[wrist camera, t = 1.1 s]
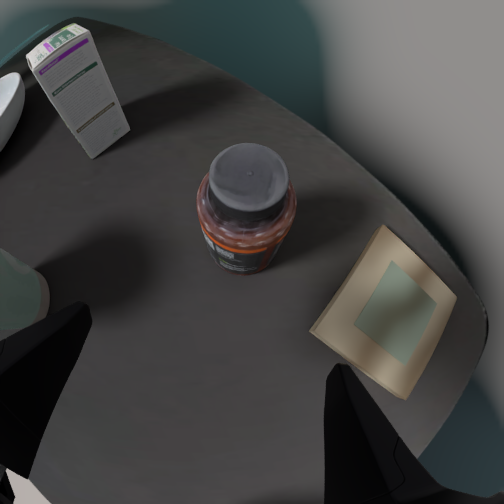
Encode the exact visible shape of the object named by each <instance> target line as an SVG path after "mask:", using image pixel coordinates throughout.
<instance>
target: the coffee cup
mask: <svg viewBox="0 0 504 504" xmlns="http://www.w3.org/2000/svg"><path fill="white" fill-rule="evenodd" d="M49 304H50V293H49V287H48V284H47V282H46V280H45V278H44V277H43V276H42V275H41V274H40V273H39V272H37V271H36V270H34V269H32V268H31V267H29V266H28V265H26V264H24V263H23V262H21V261H20V260H18V259H16V258H15V257H13V256H12V255H10V254H9V253H7V252H6V251H4V250H3V249H1V248H0V330H6V329H16V328H26V327H28V326H30V325H32V324H34V323H36V322H38V321H40V320H42V319H44V318H45V317H46V315H47V312H48V309H49Z"/></svg>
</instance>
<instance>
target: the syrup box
mask: <svg viewBox="0 0 504 504" xmlns="http://www.w3.org/2000/svg"><path fill="white" fill-rule="evenodd" d="M26 56H27V57H26V58H27V60H28V64H29V67H30V68H31V70H32V72H33V74H34V75H35V77H36V79H37V80H38V82H39V84H40V85H41V87H42V88H43V90H44V92H45V93H46V95H47V96H48V98H49V99H50V101H51V103H52V104H53V106H54V107H55V109H56V110H57V112H58V113H59V115H60V116H61V118H62V119H63V121H64V122H65V123H66V125H67V126H68V128H69V129H70V130H71V132H72V133H73V135H74V136H75V137H76V139H77V140H78V142H79V143H80V144H81V146H82V147H83V149H84V150H85V151H86V153H87V154H88V155H89V156H90V158H91V159H93V158H95V157H96V156H97V155H99V154H100V153H101V152H103V151H104V150H105V149H107V148H108V147H109V146H110V145H112V144H113V143H114V142H115V141H117V140H118V139H119V138H121V137H122V136H123V135H125V134H126V133H127V132H128V131H130V127H129V125H128V123H127V120H126V118H125V115H124V113H123V111H122V108H121V106H120V104H119V102H118V99H117V97H116V94H115V92H114V90H113V88H112V85H111V83H110V81H109V78H108V76H107V73H106V71H105V69H104V67H103V64H102V62H101V59H100V57H99V54H98V52H97V49H96V47H95V44H94V41H93V39H92V36H91V33H90V31H89V30H86V29H85V28H83V27H81V26H79V25H77V24H75V23H72V24H70V25H68V26H66V27H64V28H62V29H61V30H59V31H57V32H56V33H54V34H52V35H51V36H49V37H48V38H47V39H45V40H44V41H43V42H41V43H40V44H39V45H38V46H36V47H35V48H34V49H33V50H32V51H31V52H30V53H28V54H27V55H26Z"/></svg>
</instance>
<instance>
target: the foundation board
mask: <svg viewBox="0 0 504 504" xmlns="http://www.w3.org/2000/svg"><path fill="white" fill-rule="evenodd" d="M456 299H457V297H456V296H455V294H454V293H453V292H452V291H451V290H450V289H449V288H448V287H447V286H446V285H445V284H444V283H443V281H442V280H441V279H440V278H439V277H438V276H437V275H436V274H435V273H434V272H433V271H432V270H431V269H430V268H429V267H428V266H427V265H426V264H425V263H424V262H423V261H422V260H421V259H420V258H419V257H418V256H417V255H416V254H415V253H414V252H413V251H412V250H411V249H410V248H409V247H408V246H406V245H405V244H404V243H403V242H402V241H401V240H400V239H399V238H398V237H397V236H396V235H395V234H393V233H392V232H391V231H390V230H389V229H388V228H387V227H386V226H385V225H381V226H380V227H379V228H377V229H376V230H375V232H374V234H373V235H372V237H371V239H370V240H369V242H368V244H367V245H366V247H365V249H364V250H363V252H362V254H361V255H360V257H359V258H358V260H357V262H356V263H355V265H354V266H353V268H352V269H351V271H350V273H349V274H348V276H347V277H346V279H345V280H344V282H343V283H342V285H341V286H340V288H339V289H338V291H337V292H336V294H335V295H334V297H333V298H332V299H331V301H330V302H329V304H328V305H327V307H326V308H325V309H324V311H323V312H322V314H321V315H320V316H319V318H318V319H317V321H316V322H315V323H314V325H313V326H312V327H311V329H310V330H309V332H311V333H312V334H313V335H314V336H316V337H317V338H318V339H320V340H321V341H322V342H324V343H325V344H326V345H327V346H329V347H330V348H331V349H333V350H334V351H335V352H337V353H338V354H339V355H341V356H342V357H343V358H345V359H346V360H347V361H349V362H350V363H351V364H353V365H354V366H355V367H357V368H358V369H359V370H361V371H362V372H363V373H365V374H366V375H367V376H369V377H370V378H372V379H373V380H374V381H376V382H377V383H378V384H380V385H381V386H382V387H384V388H385V389H387V390H388V391H389V392H391V393H392V394H394V395H395V396H396V397H398V398H401V399H404V400H406V399H407V398H408V396H409V394H410V393H411V391H412V389H413V388H414V386H415V385H416V383H417V381H418V379H419V378H420V376H421V374H422V372H423V371H424V369H425V367H426V365H427V363H428V361H429V360H430V358H431V356H432V354H433V352H434V350H435V348H436V346H437V344H438V342H439V340H440V337H441V335H442V333H443V331H444V329H445V326H446V324H447V322H448V319H449V317H450V315H451V312H452V310H453V307H454V305H455V302H456Z"/></svg>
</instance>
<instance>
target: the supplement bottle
mask: <svg viewBox="0 0 504 504" xmlns="http://www.w3.org/2000/svg"><path fill="white" fill-rule="evenodd" d="M196 204H197V213H198V217H199V220H200V224H201V227H202V230H203V233H204V237H205V240H206V243H207V246H208V249H209V252H210V254H211V256H212V258H213V260H214V261H215V262H216V264H217V265H218V266H219V267H221V268H222V269H223V270H225V271H227V272H229V273H232V274H236V275H250V274H254V273H257V272H259V271H261V270H262V269H264V268H265V267H266V266H268V264H269V263H270V262H271V261H272V260H273V258H274V256H275V255H276V253H277V251H278V249H279V247H280V246H281V244H282V242H283V240H284V238H285V237H286V235H287V233H288V231H289V229H290V227H291V225H292V223H293V221H294V218H295V214H296V208H297V200H296V194H295V190H294V188H293V185H292V183H291V181H290V180H289V172H288V168H287V166H286V164H285V162H284V161H283V159H282V158H281V157H280V156H279V155H278V154H277V153H276V152H275V151H273V150H272V149H270V148H268V147H266V146H263V145H260V144H254V143H242V144H236V145H233V146H230V147H228V148H226V149H225V150H223V151H222V152H220V153H219V154H218V155H217V156H216V158H215V159H214V160H213V162H212V164H211V166H210V170H209V173H208V174H206V176H205V177H204V179H203V180H202V183H201V185H200V187H199V189H198V193H197V199H196Z"/></svg>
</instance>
